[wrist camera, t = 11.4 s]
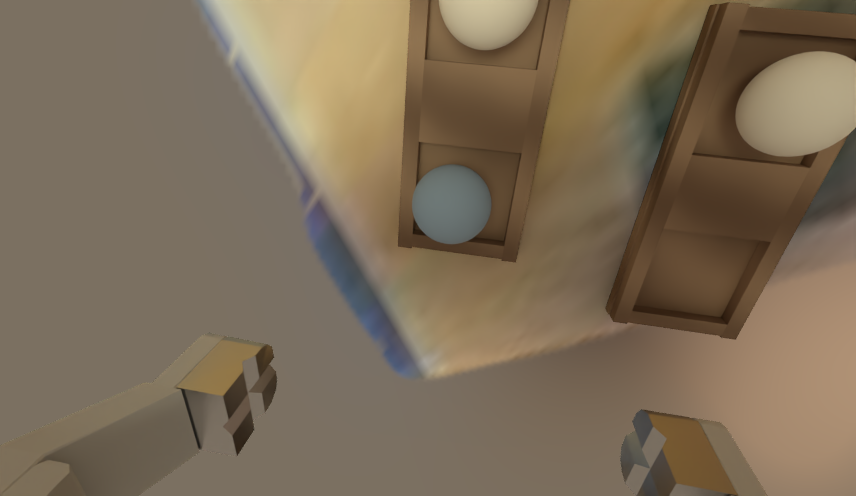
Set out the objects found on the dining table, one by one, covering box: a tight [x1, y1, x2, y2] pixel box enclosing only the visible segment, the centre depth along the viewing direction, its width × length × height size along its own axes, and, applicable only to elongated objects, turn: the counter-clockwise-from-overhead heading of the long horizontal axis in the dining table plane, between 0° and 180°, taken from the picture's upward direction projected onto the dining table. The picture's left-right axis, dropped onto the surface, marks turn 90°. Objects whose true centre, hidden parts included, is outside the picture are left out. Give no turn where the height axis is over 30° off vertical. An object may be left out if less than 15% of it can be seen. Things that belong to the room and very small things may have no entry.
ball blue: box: [412, 164, 491, 244], centre depth 20 cm, size 4×4×4 cm
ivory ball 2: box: [735, 51, 856, 157], centre depth 16 cm, size 4×4×4 cm
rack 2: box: [606, 2, 856, 339], centre depth 20 cm, size 16×7×1 cm, turn 175°
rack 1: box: [398, 0, 570, 262], centre depth 20 cm, size 16×7×1 cm, turn 175°
